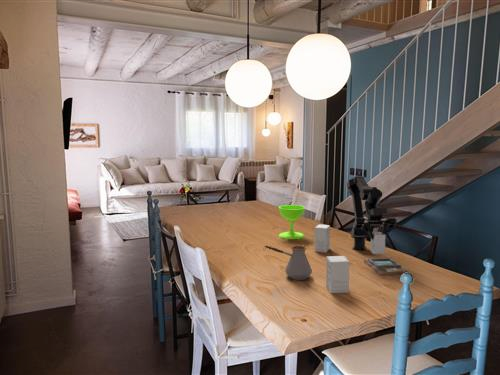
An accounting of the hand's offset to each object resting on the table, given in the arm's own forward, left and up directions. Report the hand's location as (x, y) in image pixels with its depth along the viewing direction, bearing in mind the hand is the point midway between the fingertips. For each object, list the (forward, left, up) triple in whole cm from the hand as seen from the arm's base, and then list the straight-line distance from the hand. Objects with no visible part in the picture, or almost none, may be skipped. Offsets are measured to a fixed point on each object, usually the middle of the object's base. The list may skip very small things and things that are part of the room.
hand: (378, 238), depth 176 cm
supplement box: (+34, -12, -14) cm, 38 cm away
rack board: (-1, +3, -13) cm, 14 cm away
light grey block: (-1, 0, -7) cm, 7 cm away
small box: (-18, -30, -14) cm, 38 cm away
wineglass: (-40, -54, -14) cm, 69 cm away
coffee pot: (+29, -34, -14) cm, 47 cm away
